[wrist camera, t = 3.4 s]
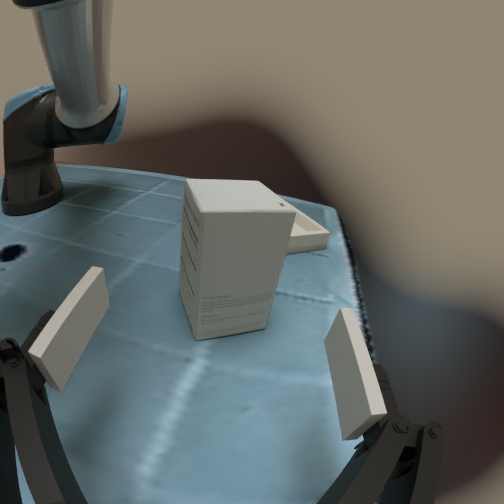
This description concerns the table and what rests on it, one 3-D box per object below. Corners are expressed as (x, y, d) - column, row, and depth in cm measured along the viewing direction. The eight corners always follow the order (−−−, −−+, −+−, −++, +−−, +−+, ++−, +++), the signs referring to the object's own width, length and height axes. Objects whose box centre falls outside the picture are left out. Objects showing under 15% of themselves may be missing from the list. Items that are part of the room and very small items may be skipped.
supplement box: (240, 285, 32) (260, 179, 25) (266, 330, 26) (300, 210, 20) (177, 291, 29) (183, 176, 22) (192, 342, 23) (201, 209, 17)
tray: (185, 208, 48) (187, 193, 47) (269, 205, 57) (272, 192, 55) (223, 262, 35) (226, 242, 34) (325, 248, 44) (330, 232, 42)
